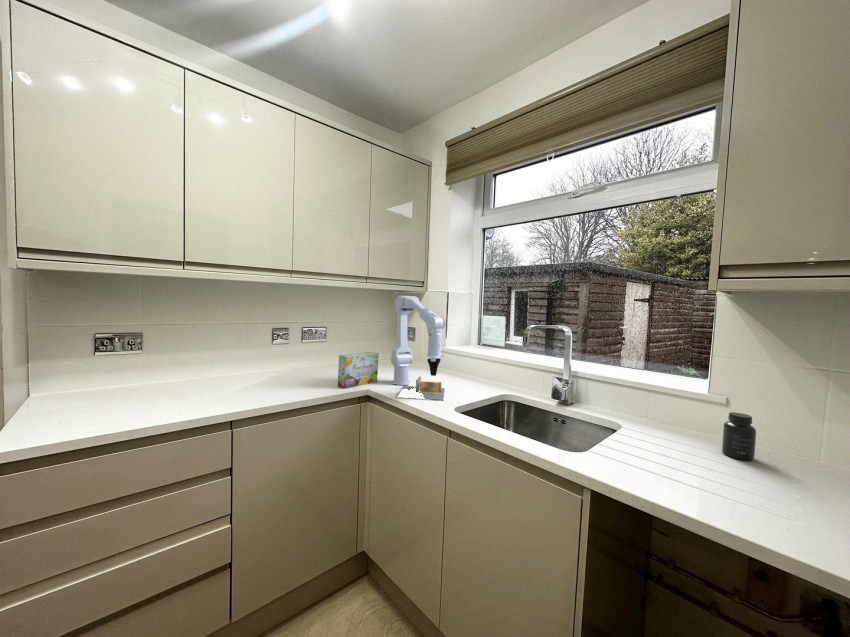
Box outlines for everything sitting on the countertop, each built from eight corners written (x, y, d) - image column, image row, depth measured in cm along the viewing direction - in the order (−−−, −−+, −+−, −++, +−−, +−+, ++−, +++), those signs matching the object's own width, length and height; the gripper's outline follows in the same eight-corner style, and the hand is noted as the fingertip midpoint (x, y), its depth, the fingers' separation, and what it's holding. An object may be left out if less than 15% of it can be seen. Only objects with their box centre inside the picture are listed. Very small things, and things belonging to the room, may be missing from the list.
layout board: (403, 386, 163) (403, 374, 163) (444, 389, 161) (445, 376, 161) (395, 397, 143) (396, 383, 143) (443, 400, 141) (443, 386, 141)
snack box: (345, 389, 155) (345, 356, 154) (337, 387, 158) (338, 354, 157) (378, 381, 171) (379, 352, 171) (370, 380, 175) (371, 351, 174)
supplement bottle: (718, 449, 101) (721, 409, 100) (749, 455, 97) (752, 413, 97) (724, 457, 95) (728, 415, 94) (758, 464, 91) (761, 420, 91)
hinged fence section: (419, 391, 151) (419, 381, 151) (419, 391, 153) (420, 381, 153) (441, 392, 151) (441, 382, 151) (441, 392, 152) (441, 382, 152)
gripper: (443, 346, 138) (442, 379, 139) (444, 342, 153) (443, 372, 154) (426, 345, 139) (425, 378, 140) (428, 342, 154) (427, 371, 154)
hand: (433, 375), depth 147 cm, fingers closed
